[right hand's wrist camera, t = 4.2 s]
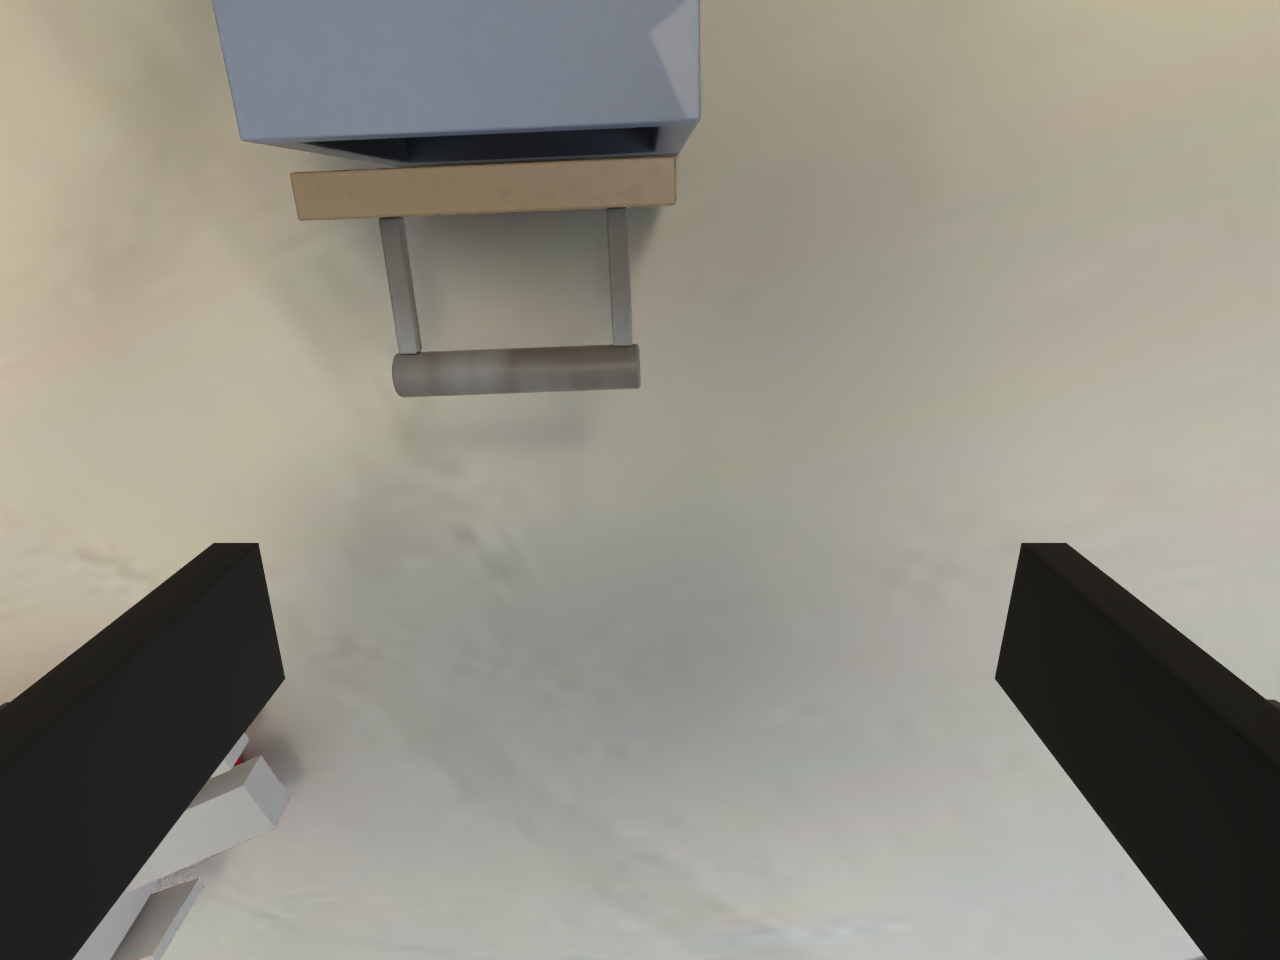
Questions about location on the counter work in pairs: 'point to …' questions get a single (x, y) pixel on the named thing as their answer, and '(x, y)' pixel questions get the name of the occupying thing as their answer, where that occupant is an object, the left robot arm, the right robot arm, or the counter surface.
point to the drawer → (497, 193)
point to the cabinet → (464, 77)
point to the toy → (189, 858)
